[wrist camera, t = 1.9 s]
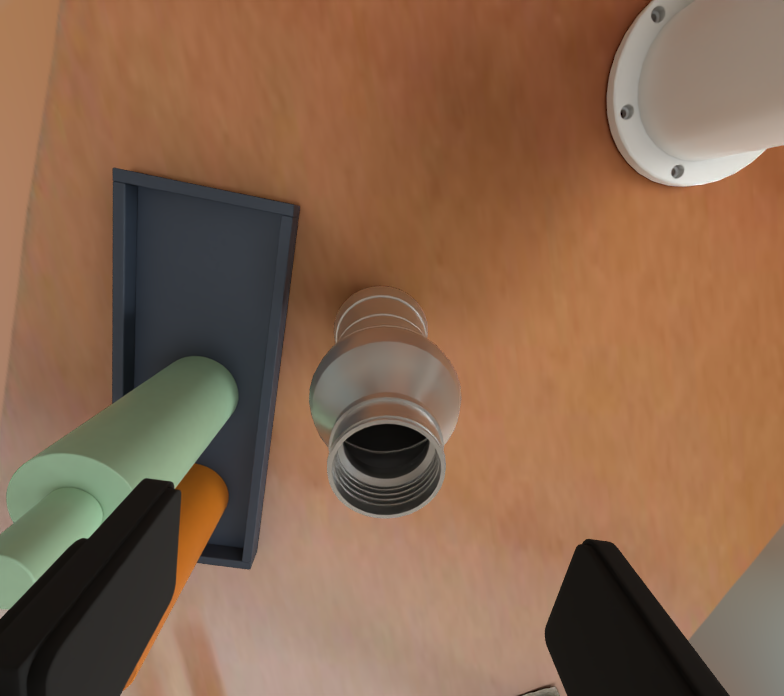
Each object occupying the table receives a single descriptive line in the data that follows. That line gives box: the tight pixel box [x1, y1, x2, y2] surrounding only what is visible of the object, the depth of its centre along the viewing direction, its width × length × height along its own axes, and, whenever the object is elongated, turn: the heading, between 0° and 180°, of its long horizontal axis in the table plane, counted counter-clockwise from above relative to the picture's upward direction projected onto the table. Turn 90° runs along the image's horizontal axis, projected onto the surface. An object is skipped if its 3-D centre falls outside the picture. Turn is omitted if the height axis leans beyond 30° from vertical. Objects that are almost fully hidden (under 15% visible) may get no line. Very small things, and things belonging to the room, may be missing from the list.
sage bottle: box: [0, 356, 238, 609], centre depth 24 cm, size 6×6×18 cm
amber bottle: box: [123, 463, 229, 690], centre depth 26 cm, size 6×6×18 cm
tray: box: [112, 168, 300, 569], centre depth 32 cm, size 31×12×2 cm, turn 169°
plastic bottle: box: [309, 286, 461, 518], centre depth 22 cm, size 6×7×20 cm
